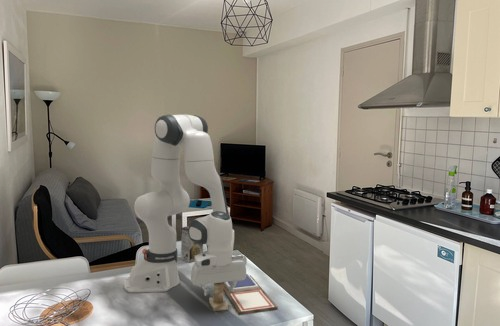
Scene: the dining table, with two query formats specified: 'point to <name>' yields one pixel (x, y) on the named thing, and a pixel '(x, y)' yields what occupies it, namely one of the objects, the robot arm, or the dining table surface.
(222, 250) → the robot arm
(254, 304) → the sheet
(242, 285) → the ink pad
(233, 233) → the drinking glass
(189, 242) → the coffee box
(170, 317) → the dining table surface
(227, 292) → the stamping board
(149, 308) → the dining table surface
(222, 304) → the wooden stamp
